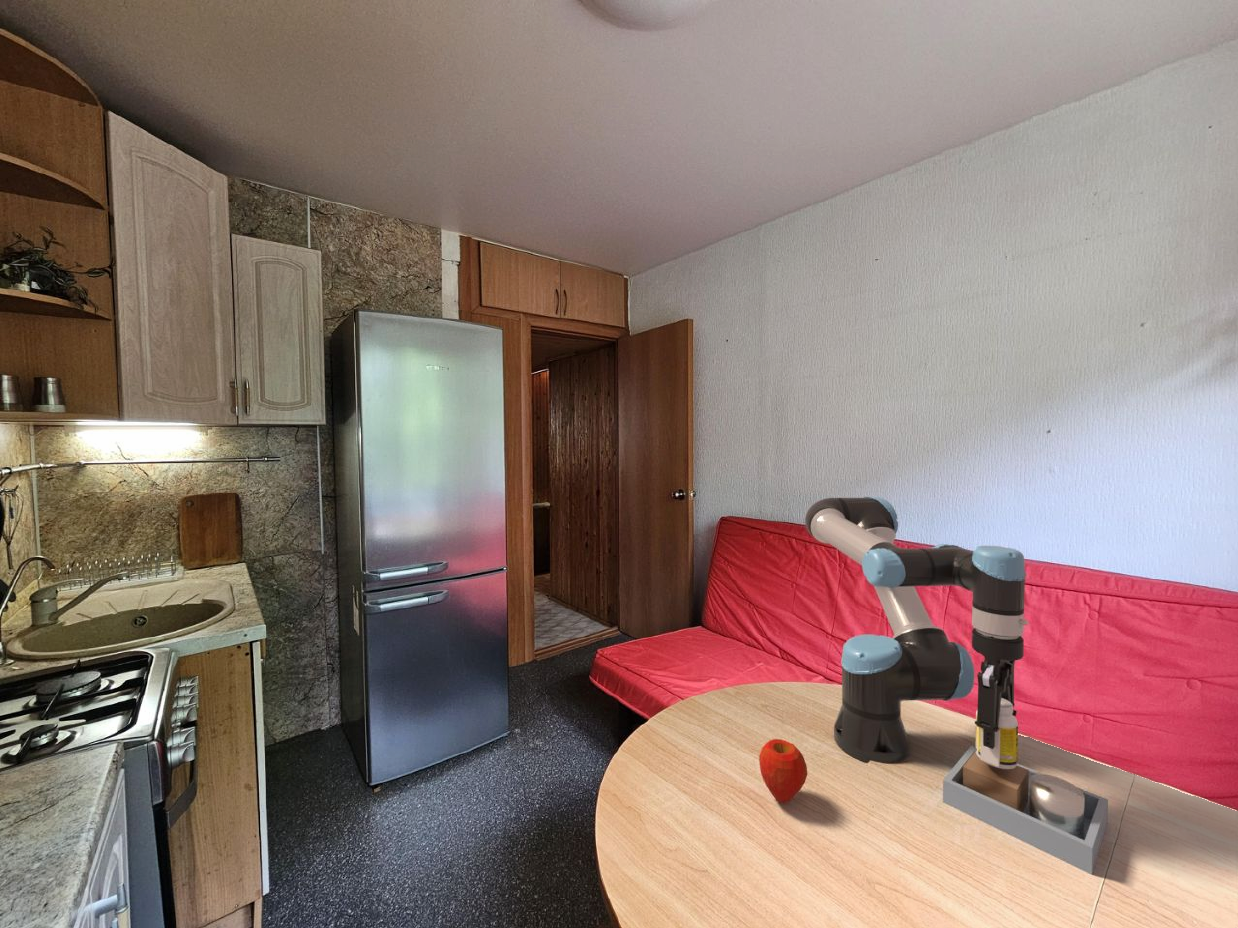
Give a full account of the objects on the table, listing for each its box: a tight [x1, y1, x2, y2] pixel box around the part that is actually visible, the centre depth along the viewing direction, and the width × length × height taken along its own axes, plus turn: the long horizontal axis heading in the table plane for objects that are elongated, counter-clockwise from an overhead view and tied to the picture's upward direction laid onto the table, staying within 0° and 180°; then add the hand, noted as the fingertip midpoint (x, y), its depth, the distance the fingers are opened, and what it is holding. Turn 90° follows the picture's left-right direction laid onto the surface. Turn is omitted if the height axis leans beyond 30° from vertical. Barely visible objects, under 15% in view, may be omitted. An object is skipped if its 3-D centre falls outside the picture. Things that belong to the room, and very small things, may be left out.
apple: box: [758, 738, 808, 804], centre depth 93 cm, size 9×8×11 cm
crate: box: [942, 745, 1109, 875], centre depth 88 cm, size 20×16×5 cm
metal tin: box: [1029, 773, 1085, 840], centre depth 84 cm, size 7×7×7 cm
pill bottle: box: [975, 698, 1019, 769], centre depth 90 cm, size 6×6×11 cm
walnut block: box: [963, 751, 1029, 812], centre depth 91 cm, size 8×8×6 cm
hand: (995, 754), depth 91 cm, fingers closed on pill bottle, 6 cm apart
